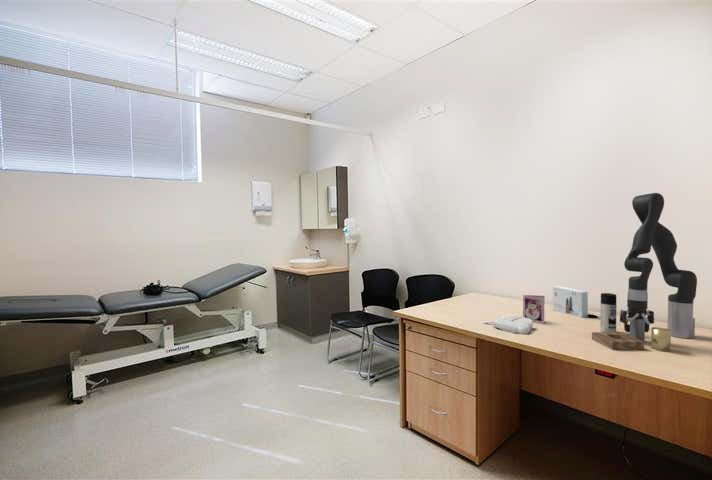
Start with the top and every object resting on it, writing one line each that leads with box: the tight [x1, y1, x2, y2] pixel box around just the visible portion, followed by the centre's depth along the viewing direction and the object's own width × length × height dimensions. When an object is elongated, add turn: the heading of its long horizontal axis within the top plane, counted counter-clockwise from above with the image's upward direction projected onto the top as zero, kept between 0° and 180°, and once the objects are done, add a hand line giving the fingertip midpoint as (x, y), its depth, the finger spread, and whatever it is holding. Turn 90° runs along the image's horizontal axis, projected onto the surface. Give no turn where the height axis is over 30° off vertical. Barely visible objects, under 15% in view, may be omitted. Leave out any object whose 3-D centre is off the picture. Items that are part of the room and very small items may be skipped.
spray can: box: [600, 292, 617, 332], centre depth 178 cm, size 7×7×20 cm
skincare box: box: [552, 285, 589, 319], centre depth 216 cm, size 21×5×16 cm, turn 17°
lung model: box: [482, 314, 534, 335], centre depth 188 cm, size 7×17×25 cm
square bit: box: [629, 317, 646, 343], centre depth 164 cm, size 4×4×11 cm
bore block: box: [591, 331, 645, 351], centre depth 160 cm, size 14×14×4 cm
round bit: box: [650, 326, 672, 353], centre depth 153 cm, size 6×6×9 cm
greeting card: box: [522, 294, 545, 325], centre depth 199 cm, size 11×7×15 cm, turn 42°
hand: (636, 331), depth 165 cm, fingers open, 8 cm apart
